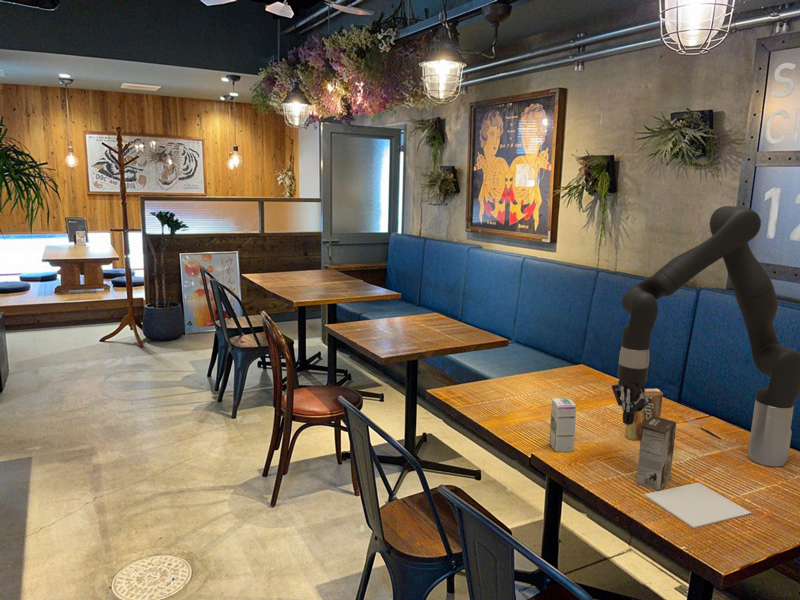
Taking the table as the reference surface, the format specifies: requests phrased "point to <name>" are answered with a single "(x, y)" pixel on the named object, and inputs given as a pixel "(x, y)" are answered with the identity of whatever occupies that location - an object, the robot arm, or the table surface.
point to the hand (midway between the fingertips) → (627, 423)
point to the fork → (701, 427)
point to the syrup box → (562, 425)
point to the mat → (697, 505)
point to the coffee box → (656, 452)
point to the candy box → (645, 414)
